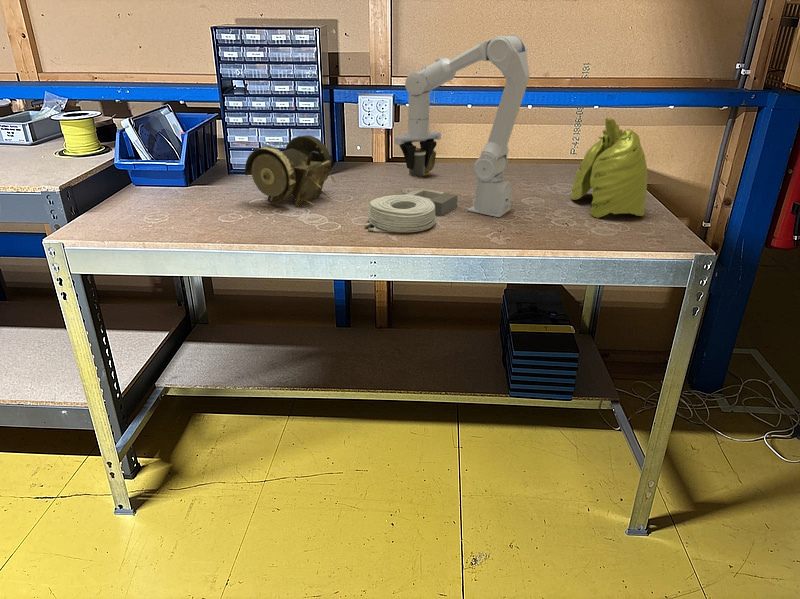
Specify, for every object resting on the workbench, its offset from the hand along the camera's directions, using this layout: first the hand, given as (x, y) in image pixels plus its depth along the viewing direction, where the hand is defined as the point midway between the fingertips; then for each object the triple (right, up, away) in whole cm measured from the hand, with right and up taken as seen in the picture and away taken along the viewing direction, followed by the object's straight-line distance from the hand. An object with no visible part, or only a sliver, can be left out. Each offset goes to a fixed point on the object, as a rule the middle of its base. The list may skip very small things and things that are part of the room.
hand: (417, 167), depth 166 cm
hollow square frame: (+4, -12, -4) cm, 13 cm away
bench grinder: (-34, -9, 0) cm, 35 cm away
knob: (0, -2, +1) cm, 2 cm away
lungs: (+53, -12, 0) cm, 55 cm away
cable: (-4, -18, -15) cm, 24 cm away
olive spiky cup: (+3, +3, +25) cm, 25 cm away
